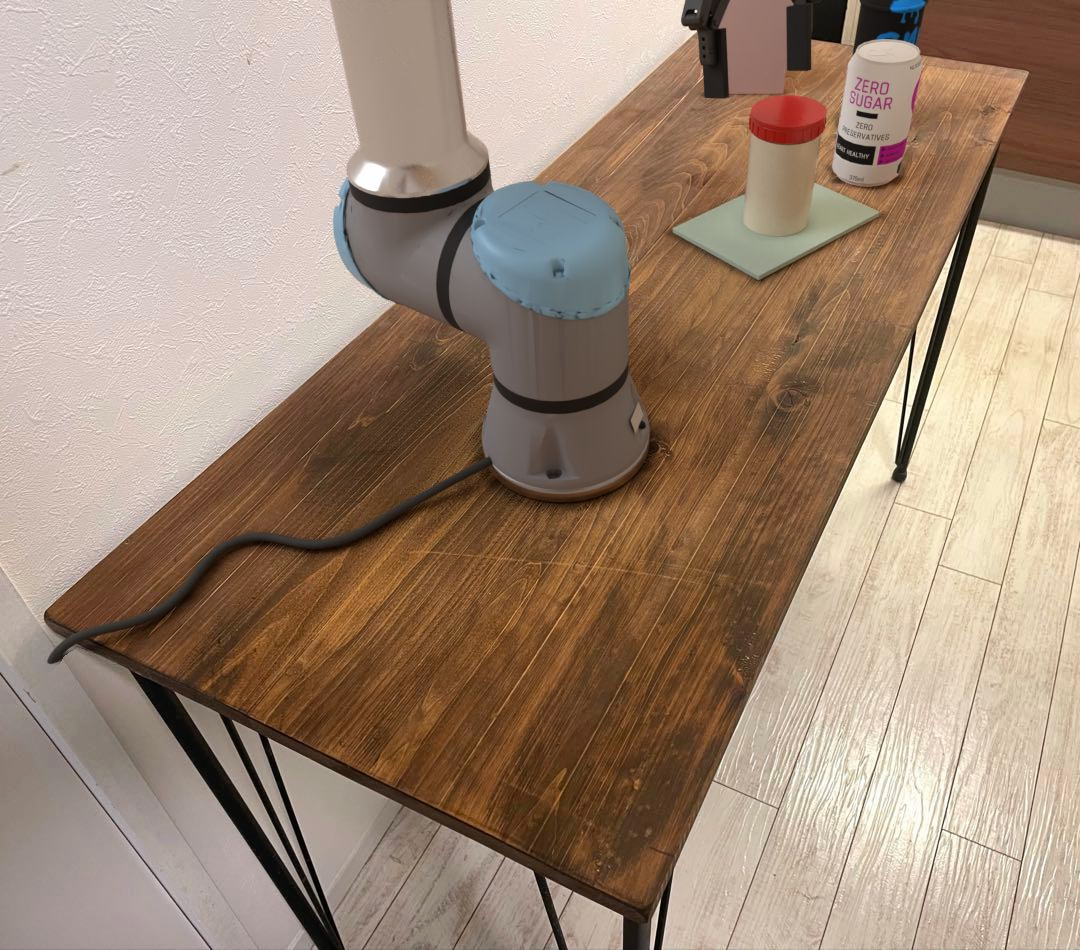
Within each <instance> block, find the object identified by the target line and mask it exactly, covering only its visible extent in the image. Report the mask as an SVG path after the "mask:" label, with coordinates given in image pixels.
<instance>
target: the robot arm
mask: <svg viewBox="0 0 1080 950" xmlns="http://www.w3.org/2000/svg"><path fill="white" fill-rule="evenodd" d="M791 1H792V3H793V6H788V7H786V27H787V65H786V72H808V71H811V70H812V34H813V29H814V24H813V23H814V20H813V19H814V4H816V3H821V1H822V0H791ZM729 2H730V0H684V4H683V8H682V13H681V16H680V23H681V26H683V28H684V27H685V28H687V27H688V30H689V31H691V32H692V31H696V32H697V41H698V42H697V43H698V58H699V63H700V66H702V76H703V95H704V97H703V98H704V99H727V98H730V94H729V83H728V60H727V36H726V28H719V26H720V23H721V21H722V18H723V16H724V14H725V11H726V9H727V6H728V4H729ZM329 3H330V8H331V13H332V18H333V22H334V27H335V32H336V37H337V41H338V46H339V50H340V55H341V56H340V57H341V61H342V65H343V70H344V76H345V79H346V85H347V90H348V94H349V98H350V103H351V109H352V113H353V118H354V123H355V129H356V132H357V138H358V143H359V145H358V146H357V148H356V149H355V151H354V152H353V153H352V154H351V156H350V157H349V159H348V161H347V163H346V178H345V179H344V180H343V183H342V184H341V185H340V188H339V191H338V194H337V195H338V196H339V198H340V202H339V204H338V205H336V206H334V209H333V214H332V231H333V238H334V242H335V247H336V250H337V252H338V254H339V257H340V259H341V262H342V263H343V265H344V266H345V268H346V269H347V271H348V272H349V273H350V275H352V277H353V278H354V279H355V280H356V281H357V282H359V283H360V284H361V285H363V286H365V287H366V288H368V289H369V290H372V291H373V292H374V293H375V294H377V296H379V297H381V298H382V299H384V300H387V301H390V302H392V303H394V304H396V305H399V306H403V307H406V308H408V309H411V310H412V311H415V312H417V313H419V314H422V315H424V316H427V317H428V318H430V319H433V320H435V321H438V322H440V323H443V324H444V325H447V326H449V327H451V328H454V329H456V330H458V331H461V332H462V333H465V334H467V335H468V336H471V337H473V338H476V339H478V340H480V341H481V342H484V343H485V344H486V346H487V348H488V352H489V359H490V365H491V370H492V380H493V385H492V388H491V392H490V397H489V400H488V405H487V409H486V414H485V416H484V419H483V422H482V426H481V427H482V430H481V446H482V451H483V459H481V460H479V461H477V462H475V463H474V464H471V465H470V466H468V467H466V468H464V469H462V470H460V471H459V472H456V473H455V474H452V475H451V476H449V477H447V478H445V479H443V480H441V481H440V482H437V483H436V484H435V485H433V486H431V487H429V488H427V489H425V490H424V491H422V492H420V493H418V494H417V495H415V496H413V497H411V498H409V499H407V500H405V501H404V502H402V503H399V504H398V505H396V506H395V507H393V508H391V509H389V510H387V511H386V512H385V513H382V514H381V515H379V516H378V517H376V518H375V519H373V520H371V521H370V522H367V523H366V524H363V526H360V527H358V528H356V529H354V530H352V531H349V532H347V533H344V534H341V535H337V536H334V537H333V536H332V537H329V538H322V539H307V538H300V537H293V536H290V535H286V534H285V535H284V534H280V533H275V532H267V531H254V532H253V531H252V532H248V533H243V534H240V535H237V536H236V535H235V536H233V537H231V538H229V539H227V540H225V541H223V542H221V543H220V544H218V545H216V546H215V547H214V548H213V549H211V550H209V552H208V553H207V554H206V555H205V556H204V557H203V558H202V559H201V561H199V563H197V565H196V566H195V568H194V569H193V571H192V572H191V573H190V575H189V576H188V577H187V579H186V580H185V581H184V582H183V583H182V584H181V585H180V587H179V588H178V589H177V590H176V591H175V592H174V593H173V594H172V595H171V596H170V597H169V598H167V599H166V600H164V601H163V602H162V603H160V604H159V605H157V606H155V607H153V608H151V609H150V610H147V611H145V612H143V613H140V614H137V615H135V616H132V617H128V618H127V617H126V618H123V619H119V620H115V621H112V622H111V621H110V622H106V623H103V624H99V625H95V626H91V627H88V628H85V629H82V630H79V631H77V632H75V633H73V634H71V635H69V636H67V637H66V638H65V639H63V640H62V641H61V642H60V643H59V644H58V645H57V646H55V648H53V650H52V651H51V652H50V654H49V656H48V657H47V660H46V662H47V664H49V665H52V664H55V663H57V662H58V661H59V660H60V659H61V658H62V657H63V655H64V654H65V653H66V652H67V651H68V650H70V648H72V647H74V646H75V645H77V644H79V643H81V642H83V641H86V640H88V639H92V638H94V637H98V636H99V637H100V636H102V635H106V634H107V635H108V634H111V633H115V632H119V631H123V630H128V629H131V628H134V627H138V626H141V625H145V624H146V623H148V622H151V621H154V620H155V619H157V618H159V617H161V616H163V615H164V614H166V613H167V612H169V611H170V610H172V609H173V608H174V607H176V606H177V605H178V604H179V603H180V602H181V601H182V600H183V599H184V598H185V597H186V596H187V595H188V594H189V593H190V591H192V590H193V588H194V587H195V585H196V584H197V583H198V582H199V580H200V579H201V577H202V576H203V575H204V574H205V572H206V571H207V570H208V569H209V567H211V565H212V564H213V563H214V562H215V561H216V560H217V559H218V558H219V557H220V556H222V555H223V554H224V553H226V552H228V551H229V550H231V549H233V548H236V547H238V546H240V545H244V544H246V543H252V542H268V543H275V544H279V545H284V546H288V547H294V548H298V549H304V550H305V549H307V550H323V549H329V548H334V547H338V546H342V545H345V544H348V543H351V542H354V541H356V540H358V539H360V538H363V537H364V536H366V535H368V534H370V533H372V532H374V531H376V530H377V529H379V528H381V527H382V526H384V525H386V524H387V523H388V522H390V521H392V520H394V519H395V518H396V517H398V516H400V515H402V514H404V513H405V512H407V511H410V510H411V509H413V508H415V507H417V506H419V505H420V504H423V503H424V502H426V501H428V500H430V499H432V498H433V497H435V496H437V495H438V494H440V493H442V492H444V491H445V490H447V489H449V488H451V487H452V486H455V485H456V484H458V483H460V482H462V481H464V480H466V479H468V478H470V477H472V476H473V475H475V474H478V473H479V472H481V471H483V470H484V469H486V468H488V470H489V471H490V473H491V474H492V475H493V477H494V478H495V479H496V480H497V481H498V482H499V483H500V484H502V485H503V486H504V487H506V488H507V489H508V490H511V491H513V492H514V493H517V494H518V495H521V496H523V497H527V498H529V499H534V500H537V501H542V502H548V503H549V502H550V503H573V502H582V501H586V500H591V499H594V498H598V497H601V496H603V495H606V494H608V493H610V492H613V491H615V490H616V489H618V488H620V487H622V486H623V485H625V484H626V483H627V482H629V481H630V480H631V479H632V478H633V477H634V476H635V475H636V474H637V473H638V472H639V471H640V470H641V468H642V466H643V465H644V463H645V461H646V459H647V457H648V454H649V452H650V451H649V450H650V436H651V435H650V434H651V433H650V429H651V428H650V421H649V417H648V414H647V411H646V408H645V406H644V404H643V402H642V399H641V397H640V394H639V392H638V390H637V388H636V385H635V383H634V379H633V378H632V375H631V373H630V371H629V370H630V361H629V359H630V358H629V357H630V342H629V341H630V335H629V334H630V324H629V323H630V321H629V320H630V319H629V318H630V316H629V315H630V313H629V312H630V309H629V308H630V306H629V305H630V303H629V301H630V300H629V298H630V297H629V295H630V292H629V291H630V289H629V288H630V285H631V278H632V276H631V272H632V269H631V264H630V257H629V255H628V245H627V234H626V231H625V228H624V224H623V222H622V220H621V218H620V217H619V215H618V214H617V212H616V211H615V210H614V208H613V207H612V205H610V204H609V203H608V202H607V201H605V200H604V199H603V198H601V197H600V196H599V195H597V194H595V193H594V192H591V191H589V190H587V189H585V188H584V187H580V186H577V185H574V184H571V183H567V182H562V181H556V180H548V181H547V182H546V183H545V184H543V183H539V182H537V180H527V181H526V180H525V181H519V182H516V183H511V184H508V185H505V186H502V187H500V188H497V189H496V190H494V187H493V183H492V182H493V181H492V171H491V165H490V155H489V149H488V148H487V147H488V146H486V144H485V143H484V142H483V141H482V140H481V139H479V137H476V135H474V134H473V133H471V132H470V131H468V127H467V118H466V112H465V103H464V95H463V87H462V79H461V70H460V63H459V55H458V48H457V39H456V29H455V22H454V15H453V7H452V6H453V5H452V0H329ZM710 15H711V16H710Z"/></svg>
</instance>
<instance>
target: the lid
mask: <svg viewBox="0 0 1080 950" xmlns="http://www.w3.org/2000/svg"><path fill="white" fill-rule="evenodd" d="M827 113H828V112H827V108H826V106H825V105H824V104H823V103H822V102H820V101H819V100H816V99H814V98H810V97H807V96H804V95H803V96H802V95H794V94H793V95H791V94H787V95H786V94H785V95H783V94H781V95H774V96H769V97H765V98H762V99H760V100H758V101H757V102H755V103H754V104H753V105H752V107H751V108H750V113H749V119H748V129H749V131H750V133H752V134H753V135H755V136H756V137H758V138H760V139H762V140H765V141H769V142H773V143H780V144H795V143H802V142H806V141H810V140H812V139H815V138H817V137H819V136H820V135H821V134H822V135H823V133H824V131H825V129H826V125H827ZM822 135H821V136H822Z"/></svg>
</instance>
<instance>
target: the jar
mask: <svg viewBox="0 0 1080 950" xmlns="http://www.w3.org/2000/svg"><path fill="white" fill-rule="evenodd" d="M822 135H823V133H822V134H821V135H820V136H819V137H817V138H815V139H812V140H810V141H806V142H802V143H795V144H780V143H773V142H769V141H765V140H762V139H760V138H758V137H756V136H755V135H753V134H752V133H751V132H750V135H749V145H748V146H749V147H748V157H747V168H746V177H745V189H744V194H745V200H744V211H743V222H744V224H745V226H746V227H747V228H749V229H750V230H752V231H754V232H756V233H759V234H762V235H767V236H788V235H792V234H796V233H798V232H800V231H802V230H803V229H805V228H806V226H807V225H808V223H809V217H810V210H811V203H812V196H813V190H814V183H816V182H815V181H816V176H817V175H816V174H817V169H818V161H819V156H820V148H821V143H822Z"/></svg>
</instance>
